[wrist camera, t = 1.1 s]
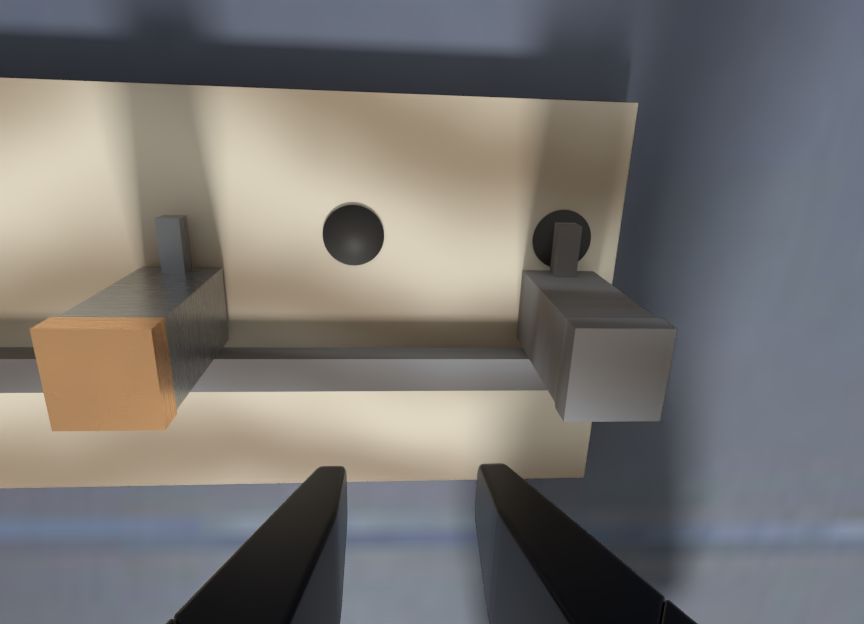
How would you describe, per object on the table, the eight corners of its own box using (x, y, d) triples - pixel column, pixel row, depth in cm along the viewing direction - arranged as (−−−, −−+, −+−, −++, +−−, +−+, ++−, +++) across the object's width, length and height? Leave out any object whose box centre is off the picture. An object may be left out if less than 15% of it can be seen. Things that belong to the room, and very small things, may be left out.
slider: (230, 340, 19) (165, 430, 13) (151, 340, 18) (52, 431, 13) (218, 215, 17) (141, 258, 12) (133, 213, 17) (13, 256, 12)
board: (574, 460, 23) (649, 595, 16) (-64, 470, 21) (-270, 629, 14) (622, 104, 18) (753, 94, 12) (-185, 72, 16) (-569, 38, 10)
